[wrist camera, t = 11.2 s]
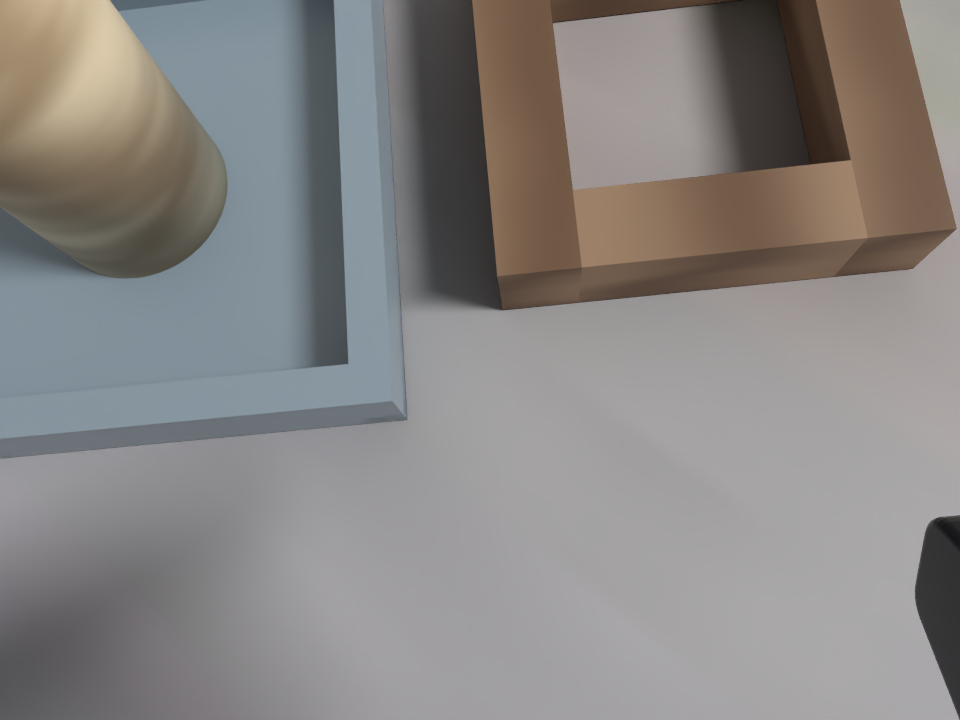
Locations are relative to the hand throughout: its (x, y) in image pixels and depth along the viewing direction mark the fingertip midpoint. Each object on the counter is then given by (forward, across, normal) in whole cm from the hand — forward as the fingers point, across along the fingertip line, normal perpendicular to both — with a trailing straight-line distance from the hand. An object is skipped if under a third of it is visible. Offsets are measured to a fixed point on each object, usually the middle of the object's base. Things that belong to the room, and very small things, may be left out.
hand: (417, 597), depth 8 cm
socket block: (+18, -6, +1) cm, 19 cm away
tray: (+18, +9, +1) cm, 20 cm away
